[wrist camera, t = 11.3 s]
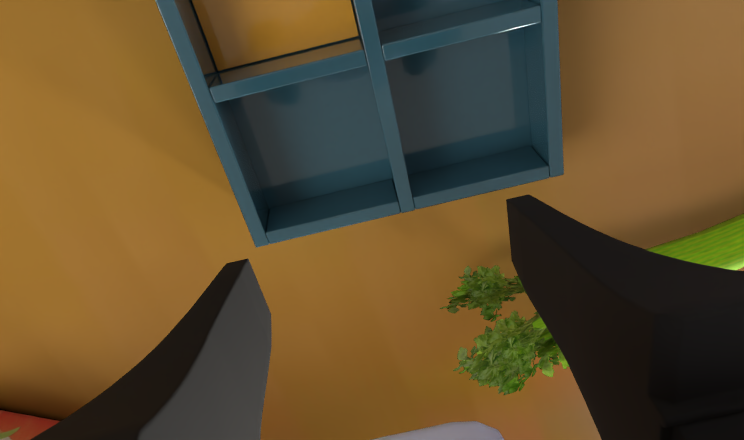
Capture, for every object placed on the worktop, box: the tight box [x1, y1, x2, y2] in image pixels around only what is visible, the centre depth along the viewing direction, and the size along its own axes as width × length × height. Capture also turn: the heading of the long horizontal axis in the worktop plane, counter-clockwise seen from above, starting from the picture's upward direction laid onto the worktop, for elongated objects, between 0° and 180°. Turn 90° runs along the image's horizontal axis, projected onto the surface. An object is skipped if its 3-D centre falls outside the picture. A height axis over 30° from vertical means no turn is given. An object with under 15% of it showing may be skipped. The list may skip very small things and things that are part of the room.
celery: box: [440, 214, 744, 395], centre depth 25 cm, size 6×7×30 cm
